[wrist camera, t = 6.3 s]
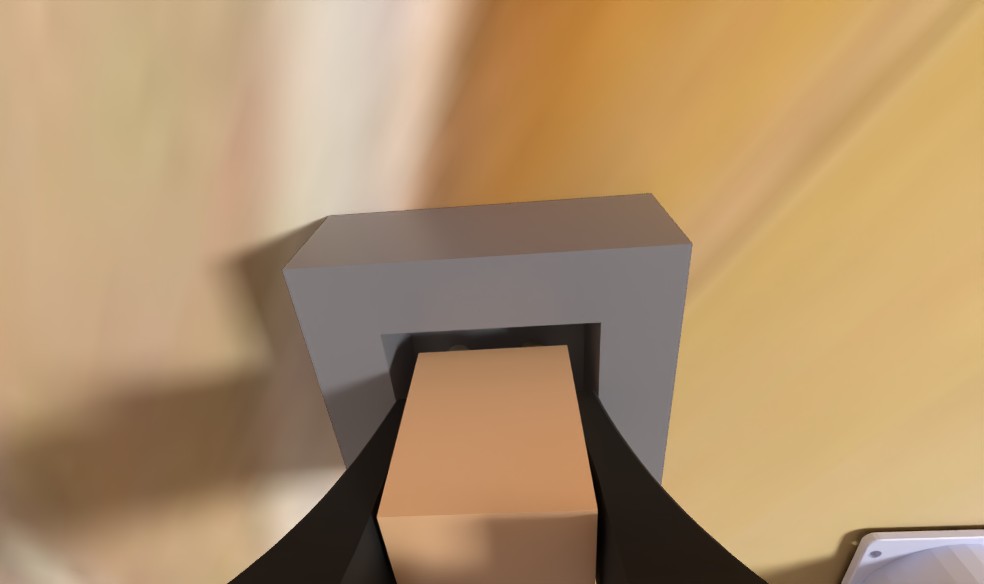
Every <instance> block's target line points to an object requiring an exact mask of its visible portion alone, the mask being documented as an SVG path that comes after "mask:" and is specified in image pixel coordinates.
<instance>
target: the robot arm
mask: <svg viewBox="0 0 984 584" xmlns="http://www.w3.org/2000/svg"><path fill="white" fill-rule="evenodd" d="M576 396H577V401H578V406H579V412H580V417H581V423H582V428H583V433H584V439H585V444H586V449H587V455H588V460H589V466H590V471H591V476H592V482H593V487H594V492H595V498H596V503H597V509H598V518H597V546H596V575H595V578H596V584H768V583H767V582H766V581H764V580H763V579H762V578H760V577H759V576H758V575H756V574H755V573H754V572H753V571H751V570H750V569H749V568H748V567H747V566H745V565H744V564H743V563H742V562H740V561H739V560H738V559H737V558H735V557H734V556H733V555H732V554H731V553H730V552H728V551H727V550H726V549H725V548H724V547H723V546H722V545H721V544H719V543H718V542H717V541H716V540H715V539H714V538H713V537H712V536H711V535H709V534H708V533H707V532H706V531H705V530H704V529H703V528H702V527H700V526H699V525H698V524H697V523H696V522H695V521H694V520H693V519H692V518H691V517H690V516H689V515H688V514H687V513H686V512H685V511H684V510H683V509H682V508H681V507H680V506H679V505H678V504H677V503H676V502H675V500H674V499H673V498H672V497H671V496H670V495H669V494H668V493H667V492H666V491H665V490H664V489H663V487H662V486H661V485H660V484H659V483H658V482H657V481H656V479H655V478H654V477H653V476H652V475H651V473H650V472H649V471H648V470H647V468H646V467H645V466H644V465H643V463H642V462H641V461H640V460H639V458H638V457H637V456H636V454H635V453H634V452H633V450H632V449H631V448H630V446H629V445H628V443H627V442H626V441H625V439H624V438H623V436H622V435H621V434H620V432H619V431H618V429H617V428H616V426H615V424H614V423H613V421H612V420H611V418H610V417H609V415H608V413H607V412H606V410H605V408H604V406H603V405H602V403H601V401H600V399H599V397H598V395H597V393H596V392H595V391H593V390H581V391H576ZM406 401H407V399H398V400H397V401H396V402H395V403H394V405H393V406H392V408H391V409H390V411H389V412H388V414H387V415H386V417H385V418H384V420H383V421H382V423H381V424H380V426H379V427H378V429H377V430H376V431H375V433H374V434H373V436H372V437H371V439H370V440H369V441H368V443H367V444H366V445H365V447H364V448H363V449H362V451H361V452H360V453H359V455H358V456H357V457H356V459H355V460H354V461H353V463H352V464H351V465H350V466H349V468H348V469H347V470H346V471H345V472H344V474H343V475H342V476H341V477H340V478H339V480H338V481H337V482H336V483H335V485H334V486H333V487H332V488H331V489H330V490H329V491H328V493H327V494H326V495H325V496H324V497H323V498H322V499H321V500H320V501H319V502H318V504H317V505H316V506H315V507H314V508H313V509H312V510H311V511H310V512H309V513H308V514H307V515H306V516H305V517H304V518H303V519H302V520H301V521H300V522H299V523H298V524H297V525H296V526H295V527H294V528H293V529H291V530H290V531H289V532H288V533H287V534H286V535H285V536H284V537H283V538H282V539H281V540H280V541H279V542H278V543H276V544H275V545H274V546H273V547H272V548H271V549H270V550H269V551H267V552H266V553H265V554H264V555H263V556H261V557H260V558H259V559H258V560H256V561H255V562H254V563H253V564H252V565H250V566H249V567H248V568H247V569H246V570H244V571H243V572H242V573H240V574H239V575H238V576H237V577H235V578H234V579H233V580H231V581H230V582H229V583H227V584H397V582H396V579H395V575H394V572H393V569H392V566H391V562H390V559H389V556H388V553H387V549H386V546H385V543H384V540H383V536H382V533H381V530H380V526H379V523H378V520H377V514H378V510H379V506H380V502H381V498H382V495H383V491H384V487H385V483H386V479H387V475H388V471H389V467H390V463H391V459H392V455H393V452H394V448H395V444H396V440H397V436H398V432H399V428H400V424H401V420H402V416H403V412H404V408H405V405H406ZM841 584H984V529H975V530H940V531H904V532H874V533H870V534H867V535H865V536H864V537H863V538H862V539H861V542H860V544H859V546H858V548H857V550H856V552H855V555H854V557H853V559H852V561H851V563H850V565H849V568H848V570H847V572H846V574H845V576H844V578H843V581H842V583H841Z"/></svg>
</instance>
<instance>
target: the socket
mask: <svg viewBox="0 0 984 584" xmlns="http://www.w3.org/2000/svg"><path fill="white" fill-rule="evenodd" d="M691 252H692V242H691V241H690V240H689V239H688V238H687V236H686V235H685V234H684V233H683V231H682V230H681V229H680V228H679V227H678V225H677V224H676V223H675V222H674V220H673V219H672V218H671V217H670V216H669V214H668V213H667V212H666V211H665V209H664V208H663V207H662V206H661V205H660V203H659V202H658V201H657V200H656V198H655V197H654V196H653V195H652V194H636V195H622V196H607V197H593V198H578V199H564V200H549V201H535V202H521V203H506V204H492V205H477V206H463V207H448V208H434V209H419V210H405V211H390V212H376V213H361V214H347V215H333V216H328V217H327V219H326V220H325V221H324V222H323V223H322V224H321V225H320V227H319V228H318V229H317V230H316V231H315V232H314V233H313V235H312V236H311V237H310V238H309V239H308V240H307V241H306V243H305V244H304V245H303V246H302V247H301V248H300V249H299V251H298V252H297V253H296V254H295V255H294V256H293V258H292V259H291V260H290V261H289V262H288V263H287V264H286V266H285V267H284V268H283V269H282V271H283V274H284V277H285V280H286V283H287V287H288V290H289V293H290V296H291V299H292V302H293V305H294V308H295V311H296V314H297V317H298V321H299V324H300V327H301V330H302V333H303V336H304V339H305V342H306V345H307V348H308V351H309V354H310V358H311V361H312V364H313V367H314V370H315V373H316V376H317V379H318V382H319V385H320V388H321V392H322V395H323V398H324V401H325V404H326V407H327V410H328V413H329V416H330V419H331V422H332V425H333V429H334V432H335V435H336V438H337V441H338V444H339V447H340V450H341V453H342V456H343V459H344V462H345V466H346V469H348V468H349V466H350V465H351V464H352V463H353V461H354V460H355V459H356V457H357V456H358V455H359V453H360V452H361V451H362V449H363V448H364V447H365V445H366V444H367V443H368V441H369V440H370V439H371V437H372V436H373V434H374V433H375V431H376V430H377V429H378V427H379V426H380V424H381V423H382V421H383V420H384V418H385V417H386V415H387V414H388V412H389V411H390V409H391V408H392V406H393V405H394V403H395V402H396V401H397V400H398V399H407V397H408V393H409V389H410V385H411V381H412V377H413V373H414V369H415V365H416V362H417V358H418V354H419V353H427V352H446V351H449V349H450V348H451V347H452V346H455V345H463V346H466V347H467V348H468V349H469V350H483V349H502V348H521V347H522V346H523V345H524V344H525V343H526V342H528V341H537V342H540V343H541V344H542V345H543V346H558V345H567V347H568V353H569V358H570V363H571V369H572V374H573V380H574V385H575V390H576V391H581V390H593V391H595V392H596V393H597V395H598V397H599V399H600V401H601V403H602V405H603V406H604V408H605V410H606V412H607V413H608V415H609V417H610V418H611V420H612V421H613V423H614V424H615V426H616V428H617V429H618V431H619V432H620V434H621V435H622V436H623V438H624V439H625V441H626V442H627V443H628V445H629V446H630V448H631V449H632V450H633V452H634V453H635V454H636V456H637V457H638V458H639V460H640V461H641V462H642V463H643V465H644V466H645V467H646V468H647V470H648V471H649V472H650V473H651V475H652V476H653V477H654V478H655V479H656V481H657V482H658V483H659V484H660V485H661V482H662V474H663V467H664V459H665V451H666V444H667V436H668V428H669V421H670V413H671V405H672V398H673V390H674V382H675V374H676V367H677V359H678V351H679V344H680V336H681V328H682V321H683V313H684V305H685V298H686V290H687V282H688V275H689V267H690V259H691Z"/></svg>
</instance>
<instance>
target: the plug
mask: <svg viewBox="0 0 984 584" xmlns="http://www.w3.org/2000/svg"><path fill="white" fill-rule="evenodd" d="M597 518H598V509H597V503H596V498H595V492H594V487H593V482H592V476H591V471H590V466H589V460H588V455H587V449H586V444H585V439H584V433H583V428H582V423H581V417H580V412H579V406H578V401H577V396H576V390H575V385H574V380H573V374H572V369H571V363H570V358H569V353H568V347H567V345H558V346H543V345H542V344H541V343H540V342H537V341H528V342H526V343H525V344H524V345H523V346H522V347H521V348H502V349H483V350H469V349H468V348H467V347H466V346H463V345H455V346H452V347H451V348H450V349H449V351H446V352H427V353H419V354H418V358H417V362H416V365H415V369H414V373H413V377H412V381H411V385H410V389H409V393H408V397H407V401H406V405H405V408H404V412H403V416H402V420H401V424H400V428H399V432H398V436H397V440H396V444H395V448H394V452H393V455H392V459H391V463H390V467H389V471H388V475H387V479H386V483H385V487H384V491H383V495H382V498H381V502H380V506H379V510H378V514H377V520H378V523H379V526H380V530H381V533H382V536H383V540H384V543H385V546H386V549H387V553H388V556H389V559H390V562H391V566H392V569H393V572H394V575H395V579H396V582H397V584H595V575H596V546H597Z"/></svg>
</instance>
